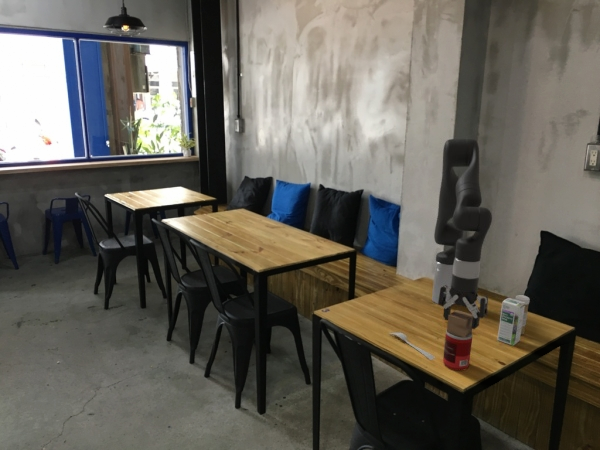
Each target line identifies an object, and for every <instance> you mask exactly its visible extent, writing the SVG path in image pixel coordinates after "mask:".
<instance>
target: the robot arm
mask: <svg viewBox="0 0 600 450" xmlns="http://www.w3.org/2000/svg"><path fill="white" fill-rule="evenodd" d="M442 151H443V152H442V172H441V174H442V175H441V183H440V189H439V194H438V195H439V196H438V209H437V210H438V211H437V218H436V223H435V228H434V235H433V237H434V241H435V242H434V243H436V244H437V245H440V246H447V247H449V246H451V248H449V249H447V250H444V251H439V252H438V253H436V254H435V255H436V256H435V265H434V276H433V286H432V295H431V296H432V297H431V300H432V302H433V303H435V304H437V305H438V306H442V307H443V313H442V314H443V315H442V316H443V319H444V321H448V315H450V314H451V313H452V312H451V310H452V307H451V306H453V305H457V306H461V307H463V308H467V309H468V311H469V312H470V314H471V315H473V319H472V327H471V328H472V330H475V329H477V328H478V327H479V326H480V318H481V319H483V318H485V317H486V316H488V305H489V303H488V302H489V298H488V296H480V295H479V294H478V289H479V281H480V273H481V272H480V271H481V256H482V249H483V245H484V241H485V238H486V236H487V234H488V232H489V229H490V228H491V225H492V220H493V215H492V212H491V210H490V209H489V208H487V207H482V206H481V205H482V198H483V197H482V191H481V186H480V147H479V143H478V141H477V140H476V139H475V138H452V139H447V140H446V141H445V142H444V146H443V150H442ZM454 167H455V168H456V167H457V168H462V167H463V168H465V167H467V169H466V170H465V171H464V172H463V173H462V174H461V176H458V175H457V174H456V172H455V170H454ZM451 219H452V222H449V221H450V220H451ZM464 232H474V233H473V234H472V235H470V236H466V237H464ZM476 301H478V304H479V306H478V305H477V303H476ZM478 307H479V308H478Z"/></svg>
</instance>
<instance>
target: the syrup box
mask: <svg viewBox="0 0 600 450" xmlns="http://www.w3.org/2000/svg"><path fill="white" fill-rule="evenodd" d="M524 308H525V302H522V301H518V300H515V298H511V297H508V298H506V299H504V300H503V301H502V302H501V309H500V316H499V317H500V318H499V326H498V333H497V342H498V341H499V342H501V343H504V344H507V345H510V346H512V347H514V346H516V344H517V343H518V342H520V339H521V335H522V334H521V328H522V322H523V315H524Z"/></svg>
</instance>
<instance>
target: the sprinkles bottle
mask: <svg viewBox="0 0 600 450" xmlns="http://www.w3.org/2000/svg"><path fill="white" fill-rule="evenodd" d="M514 299H515V300H518V301H522V302H525V308H524V315H523V322H522V328H521V335H524V334H525V329H526V324H527V318H528V317H527V316H528V313H529V312H528V309H529V304H530V302H531V301H530V300H531V299H530V297H528V296H526V295H523V294H519V295H515V298H514Z"/></svg>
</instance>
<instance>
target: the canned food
mask: <svg viewBox="0 0 600 450" xmlns="http://www.w3.org/2000/svg"><path fill="white" fill-rule="evenodd" d="M472 343H473V331H472V332H471V333H470V334H468V335H467V336H466V337H465V338H463V337H460V336H457V335H454V334H451V333H448V332H447V329H446V331H445V339H444V347H443V348H444V349H443V355H442V362H443V365H444V366H445V367H446V368H448V369H450V370H453V371H464V370H467V369H468V368H469V366H470V359H471V352H472V351H471V350H472Z"/></svg>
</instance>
